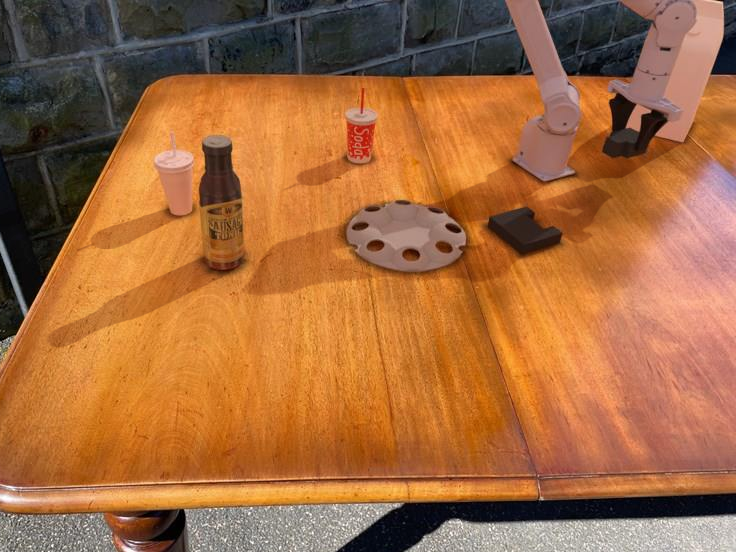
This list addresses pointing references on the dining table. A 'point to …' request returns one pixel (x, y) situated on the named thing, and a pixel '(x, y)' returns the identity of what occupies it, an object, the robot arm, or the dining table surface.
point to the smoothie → (176, 178)
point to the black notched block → (622, 144)
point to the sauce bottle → (221, 206)
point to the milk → (690, 70)
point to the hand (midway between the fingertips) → (628, 143)
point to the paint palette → (406, 236)
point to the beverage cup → (360, 132)
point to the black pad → (523, 230)
